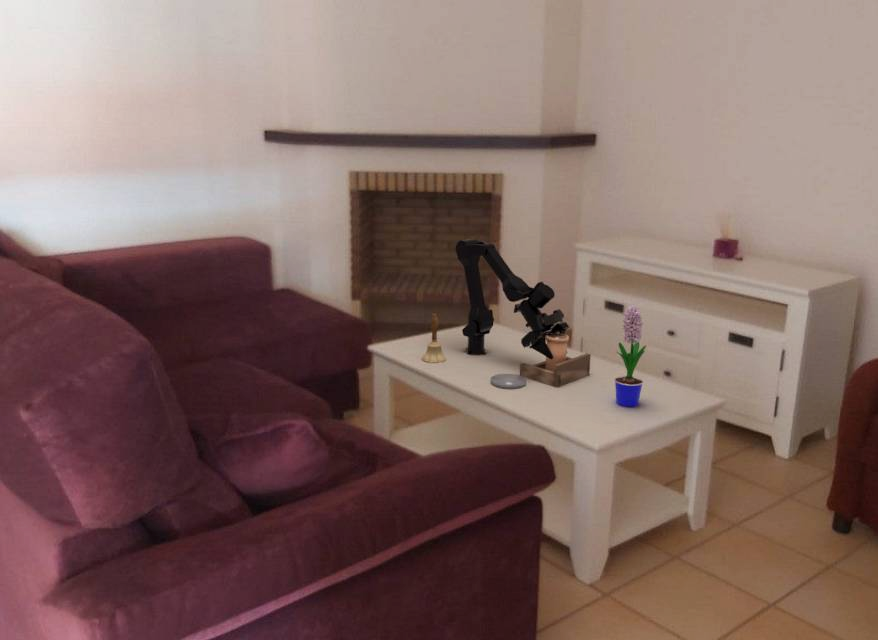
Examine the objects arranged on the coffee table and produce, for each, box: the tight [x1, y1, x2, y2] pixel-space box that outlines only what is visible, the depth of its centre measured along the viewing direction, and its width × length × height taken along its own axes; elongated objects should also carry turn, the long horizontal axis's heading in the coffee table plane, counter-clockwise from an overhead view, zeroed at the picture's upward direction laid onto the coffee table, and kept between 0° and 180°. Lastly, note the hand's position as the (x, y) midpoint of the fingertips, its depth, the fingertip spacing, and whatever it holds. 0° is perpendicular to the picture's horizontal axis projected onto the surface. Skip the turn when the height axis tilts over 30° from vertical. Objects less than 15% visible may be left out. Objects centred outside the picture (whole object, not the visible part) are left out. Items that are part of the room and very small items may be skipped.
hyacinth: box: [614, 305, 647, 408], centre depth 247 cm, size 9×10×30 cm
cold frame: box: [519, 352, 591, 388], centre depth 273 cm, size 15×17×7 cm
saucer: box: [490, 373, 527, 390], centre depth 266 cm, size 11×11×1 cm
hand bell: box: [421, 313, 447, 364], centre depth 286 cm, size 8×8×16 cm
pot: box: [545, 333, 570, 372], centre depth 272 cm, size 7×7×13 cm
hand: (559, 356), depth 271 cm, fingers closed on pot, 7 cm apart
